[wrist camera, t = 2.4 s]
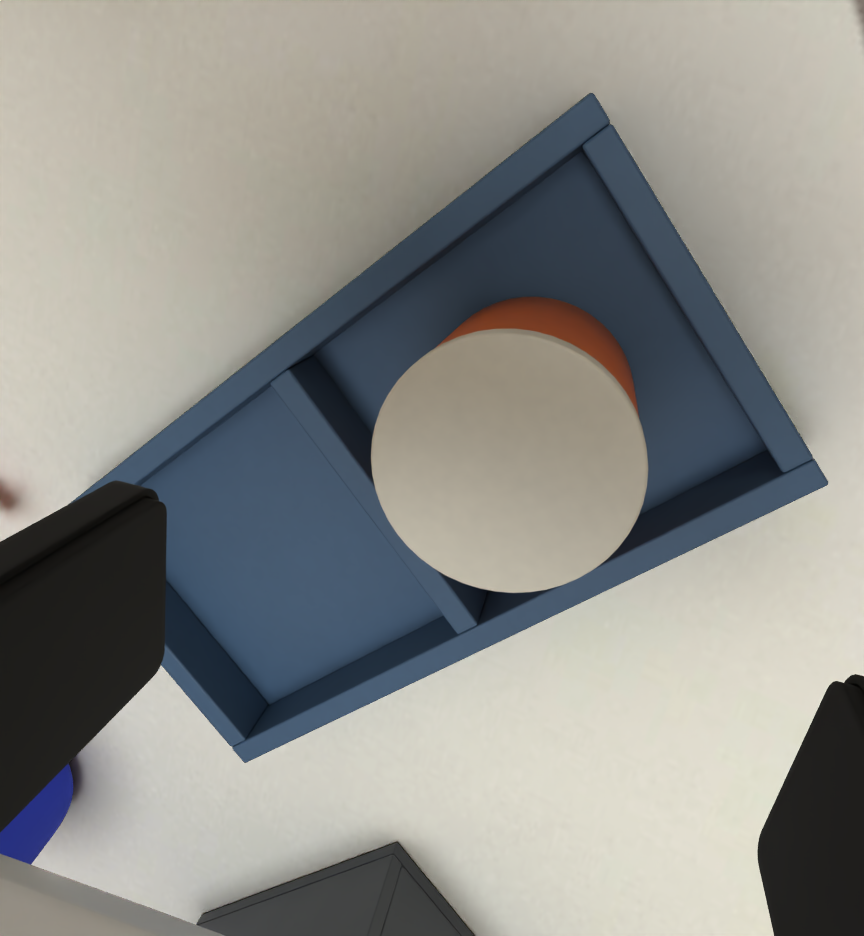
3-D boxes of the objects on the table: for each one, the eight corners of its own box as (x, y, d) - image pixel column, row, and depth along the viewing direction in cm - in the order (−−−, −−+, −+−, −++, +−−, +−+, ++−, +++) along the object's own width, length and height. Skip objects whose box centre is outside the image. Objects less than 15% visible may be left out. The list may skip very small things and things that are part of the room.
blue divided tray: (91, 495, 26) (41, 525, 24) (593, 104, 18) (591, 90, 16) (274, 716, 28) (244, 764, 26) (803, 450, 20) (830, 484, 18)
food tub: (391, 369, 21) (318, 430, 16) (561, 249, 19) (544, 271, 14) (502, 526, 22) (469, 633, 17) (676, 429, 20) (703, 518, 15)
